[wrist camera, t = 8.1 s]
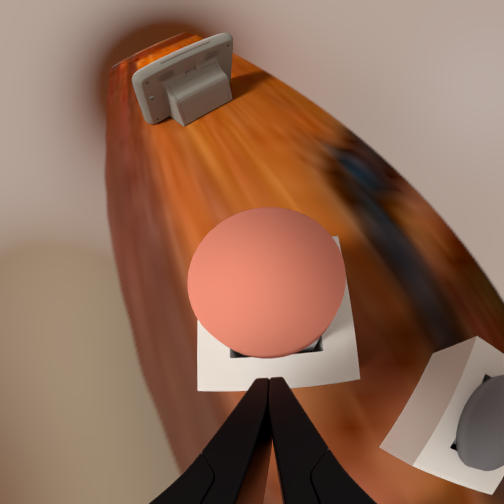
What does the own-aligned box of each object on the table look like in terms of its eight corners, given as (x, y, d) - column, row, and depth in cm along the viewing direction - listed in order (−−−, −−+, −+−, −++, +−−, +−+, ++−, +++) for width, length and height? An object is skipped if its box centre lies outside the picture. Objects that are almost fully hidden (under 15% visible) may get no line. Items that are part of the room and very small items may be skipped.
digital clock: (231, 79, 42) (219, 26, 33) (255, 98, 38) (245, 36, 29) (143, 116, 41) (120, 65, 31) (154, 141, 36) (126, 81, 27)
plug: (451, 463, 14) (505, 478, 7) (401, 440, 16) (450, 457, 9) (484, 399, 16) (543, 391, 9) (439, 372, 18) (496, 357, 11)
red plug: (329, 364, 16) (357, 344, 9) (228, 371, 17) (185, 356, 10) (318, 272, 19) (330, 201, 12) (227, 280, 20) (192, 215, 13)
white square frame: (339, 382, 20) (360, 379, 14) (225, 391, 21) (197, 390, 14) (326, 277, 24) (338, 235, 18) (223, 287, 25) (200, 249, 19)
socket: (449, 478, 13) (492, 494, 7) (378, 447, 16) (412, 465, 10) (494, 391, 16) (542, 382, 10) (432, 353, 19) (476, 335, 13)
